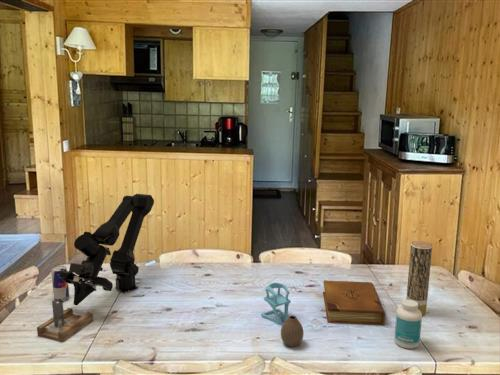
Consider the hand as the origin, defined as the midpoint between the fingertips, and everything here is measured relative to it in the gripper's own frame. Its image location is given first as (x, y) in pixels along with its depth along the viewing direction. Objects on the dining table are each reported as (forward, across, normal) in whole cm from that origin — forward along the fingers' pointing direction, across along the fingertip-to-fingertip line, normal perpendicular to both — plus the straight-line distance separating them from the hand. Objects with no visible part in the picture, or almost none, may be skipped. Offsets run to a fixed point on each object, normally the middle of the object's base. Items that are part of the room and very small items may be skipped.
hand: (75, 305), depth 153 cm
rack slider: (+9, 0, -2) cm, 9 cm away
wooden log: (-29, +106, +39) cm, 117 cm away
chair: (-14, +62, +24) cm, 67 cm away
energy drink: (-4, -17, +13) cm, 21 cm away
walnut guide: (+8, 0, +1) cm, 8 cm away
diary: (-25, +84, +36) cm, 95 cm away
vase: (-5, +71, +14) cm, 72 cm away
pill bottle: (-14, +104, +23) cm, 107 cm away
